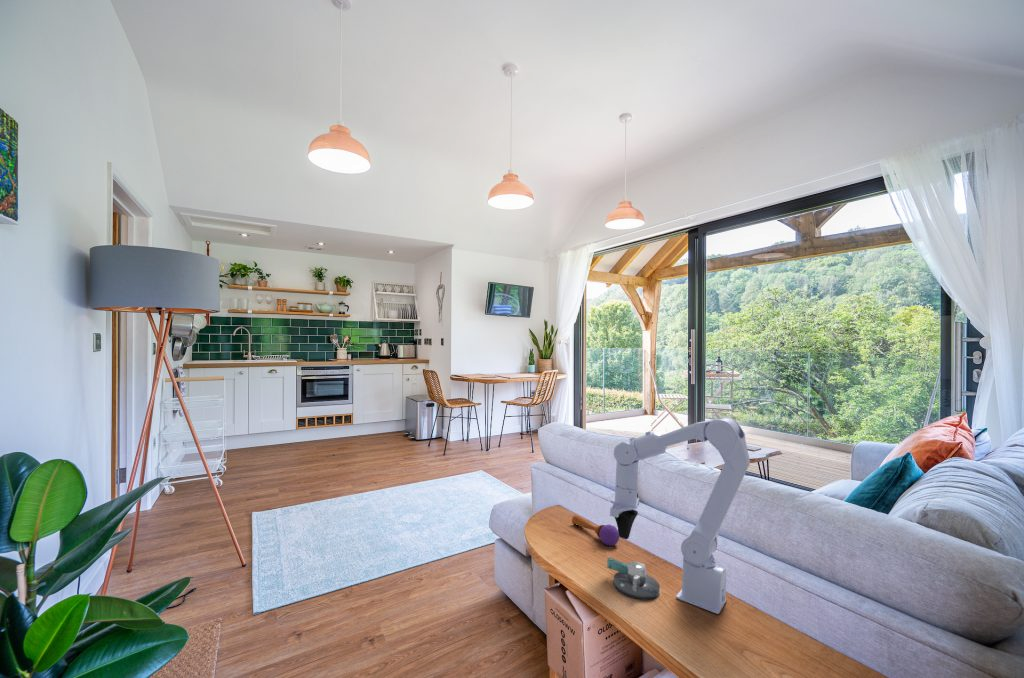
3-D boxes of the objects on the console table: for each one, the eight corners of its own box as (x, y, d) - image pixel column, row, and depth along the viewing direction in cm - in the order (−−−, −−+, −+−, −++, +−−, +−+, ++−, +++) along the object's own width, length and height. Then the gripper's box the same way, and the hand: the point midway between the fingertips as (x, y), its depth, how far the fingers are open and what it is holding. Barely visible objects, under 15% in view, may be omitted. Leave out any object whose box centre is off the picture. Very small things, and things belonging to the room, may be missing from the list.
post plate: (665, 587, 107) (666, 569, 107) (649, 605, 98) (650, 585, 99) (624, 572, 114) (625, 555, 114) (605, 587, 105) (606, 569, 106)
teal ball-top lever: (648, 580, 107) (648, 565, 107) (641, 586, 103) (642, 571, 103) (611, 566, 113) (611, 552, 113) (603, 572, 110) (604, 557, 110)
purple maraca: (583, 511, 149) (624, 528, 131) (581, 529, 147) (622, 548, 130) (570, 510, 146) (609, 527, 128) (567, 528, 145) (607, 548, 127)
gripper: (623, 478, 124) (621, 526, 123) (600, 488, 112) (597, 540, 112) (647, 484, 119) (645, 533, 118) (625, 494, 108) (623, 549, 107)
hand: (623, 537), depth 115 cm, fingers closed
